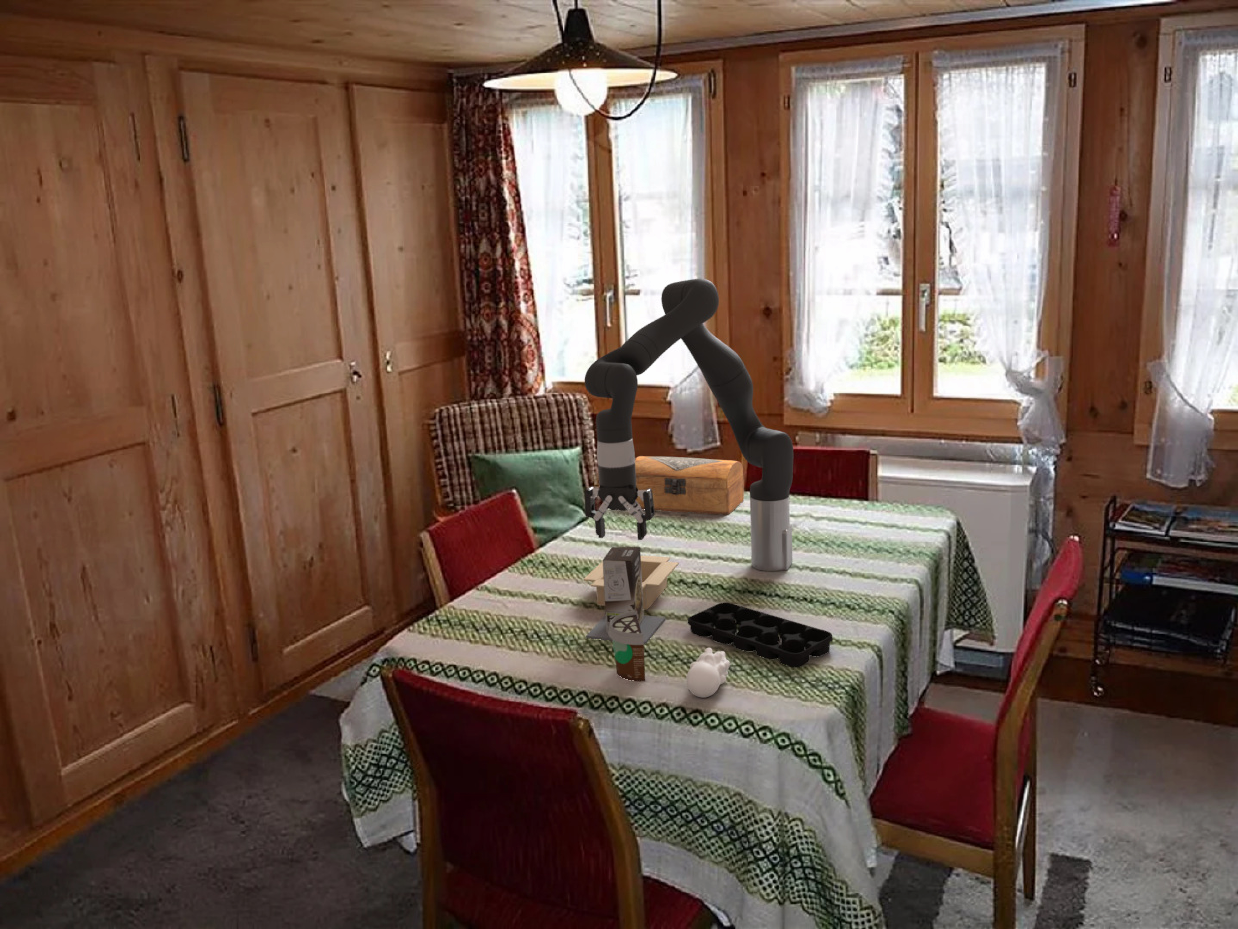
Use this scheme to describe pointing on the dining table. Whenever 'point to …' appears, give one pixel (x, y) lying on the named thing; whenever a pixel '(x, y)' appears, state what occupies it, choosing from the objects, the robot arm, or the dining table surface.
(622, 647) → the food container
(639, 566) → the coffee box
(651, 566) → the carton
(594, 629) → the rubber mat
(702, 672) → the figurine
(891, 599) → the dining table surface
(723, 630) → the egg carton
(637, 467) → the wooden box
